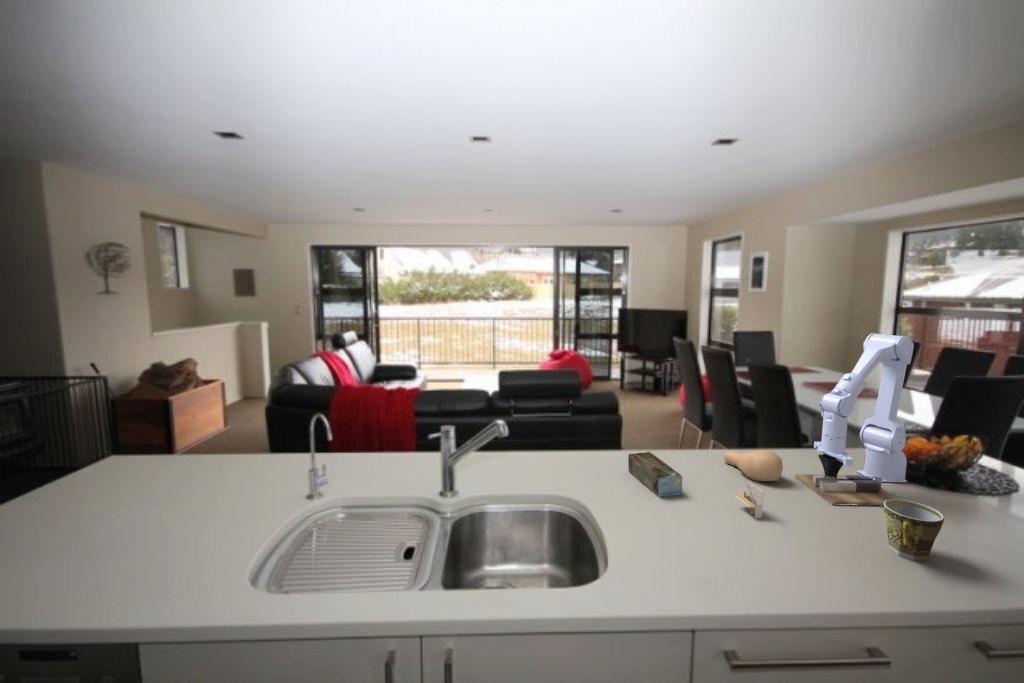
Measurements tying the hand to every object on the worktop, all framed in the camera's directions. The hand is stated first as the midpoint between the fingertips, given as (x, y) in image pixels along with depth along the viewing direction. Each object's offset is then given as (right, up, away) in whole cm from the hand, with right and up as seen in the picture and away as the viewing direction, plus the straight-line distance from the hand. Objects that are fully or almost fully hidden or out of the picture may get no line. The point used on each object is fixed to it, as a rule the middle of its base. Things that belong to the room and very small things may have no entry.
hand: (830, 480), depth 134 cm
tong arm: (+3, -1, -2) cm, 4 cm away
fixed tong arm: (+2, -2, -5) cm, 5 cm away
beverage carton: (-50, -2, +5) cm, 51 cm away
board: (+3, -2, -2) cm, 4 cm away
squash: (-18, -1, +11) cm, 21 cm away
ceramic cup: (-7, -6, -34) cm, 35 cm away
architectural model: (-30, -5, -14) cm, 34 cm away
